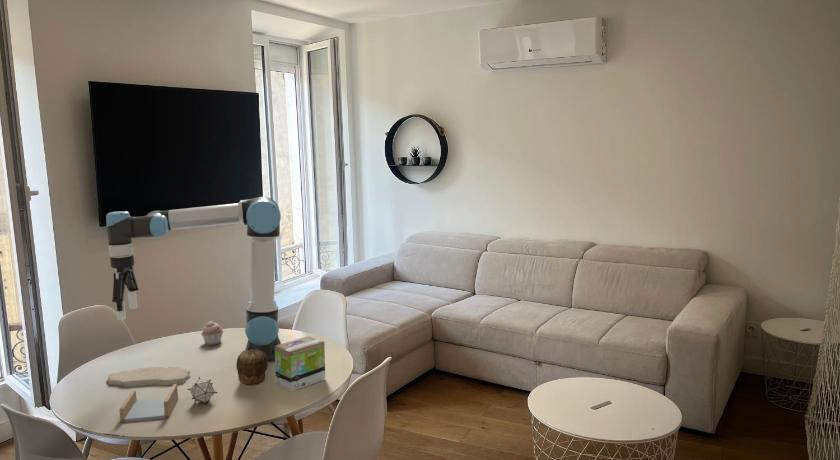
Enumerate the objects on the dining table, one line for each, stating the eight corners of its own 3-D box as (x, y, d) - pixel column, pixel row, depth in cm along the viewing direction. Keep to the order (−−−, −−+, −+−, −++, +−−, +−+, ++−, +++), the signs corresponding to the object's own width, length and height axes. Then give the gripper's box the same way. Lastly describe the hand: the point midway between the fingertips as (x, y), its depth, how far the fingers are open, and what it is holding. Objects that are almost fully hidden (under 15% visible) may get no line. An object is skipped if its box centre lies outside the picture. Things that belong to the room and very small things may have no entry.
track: (178, 399, 211) (176, 384, 210) (169, 417, 198) (167, 401, 197) (133, 403, 209) (131, 387, 208) (120, 422, 195) (118, 405, 194)
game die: (200, 411, 210) (193, 383, 214) (223, 401, 210) (216, 373, 214) (187, 409, 202) (180, 380, 206) (212, 399, 202) (204, 370, 206)
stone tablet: (184, 386, 224) (183, 379, 223) (99, 388, 223) (98, 382, 222) (198, 369, 240) (198, 363, 240) (119, 371, 239) (119, 365, 239)
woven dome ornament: (241, 390, 217) (239, 357, 216) (234, 379, 227) (232, 348, 225) (272, 384, 222) (270, 352, 221) (264, 374, 232) (262, 343, 230)
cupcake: (229, 341, 269) (227, 319, 267) (210, 348, 262) (208, 325, 260) (216, 337, 275) (214, 315, 273) (197, 343, 267) (195, 321, 266)
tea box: (292, 392, 215) (290, 351, 212) (275, 385, 222) (273, 345, 219) (326, 379, 226) (324, 340, 223) (309, 372, 232) (307, 334, 230)
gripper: (121, 249, 231) (127, 305, 234) (97, 263, 207) (104, 325, 210) (143, 248, 232) (148, 303, 235) (121, 262, 208) (128, 323, 211)
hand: (127, 314), depth 223 cm, fingers open, 13 cm apart
